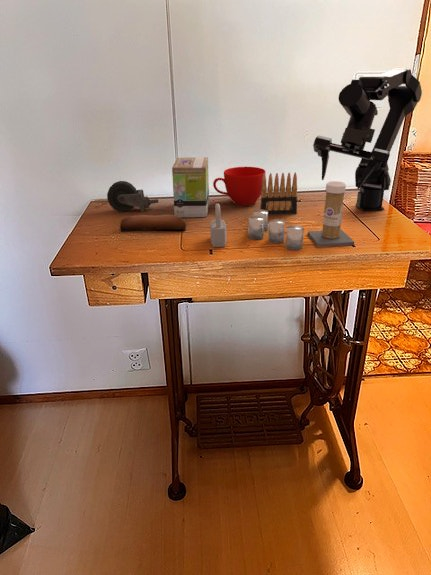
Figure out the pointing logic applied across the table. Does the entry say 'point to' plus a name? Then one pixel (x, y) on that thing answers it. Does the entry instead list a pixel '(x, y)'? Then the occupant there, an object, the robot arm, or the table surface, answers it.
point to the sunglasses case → (152, 222)
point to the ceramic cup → (242, 184)
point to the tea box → (190, 187)
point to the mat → (326, 242)
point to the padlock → (218, 229)
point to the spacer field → (275, 230)
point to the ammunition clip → (279, 195)
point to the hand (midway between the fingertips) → (340, 184)
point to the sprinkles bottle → (333, 209)
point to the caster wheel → (127, 197)
